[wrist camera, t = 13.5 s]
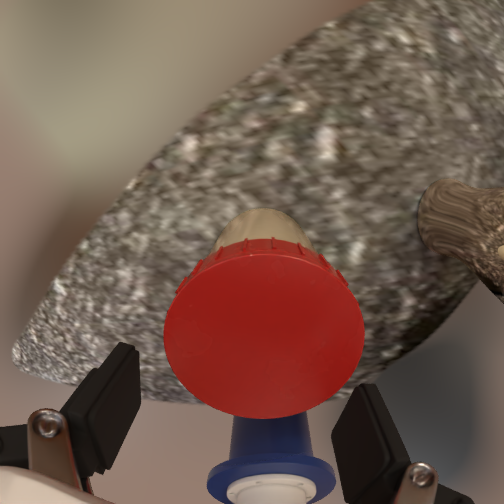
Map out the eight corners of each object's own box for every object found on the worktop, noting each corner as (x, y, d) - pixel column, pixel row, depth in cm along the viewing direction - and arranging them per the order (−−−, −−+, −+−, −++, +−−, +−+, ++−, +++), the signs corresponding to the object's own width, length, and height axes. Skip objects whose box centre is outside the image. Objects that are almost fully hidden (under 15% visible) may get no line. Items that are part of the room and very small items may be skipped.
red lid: (214, 401, 12) (209, 430, 11) (147, 269, 11) (127, 288, 9) (362, 364, 12) (374, 391, 10) (329, 211, 10) (344, 220, 8)
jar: (320, 277, 21) (366, 369, 10) (239, 308, 21) (223, 414, 11) (288, 193, 19) (319, 222, 9) (201, 230, 20) (144, 293, 10)
